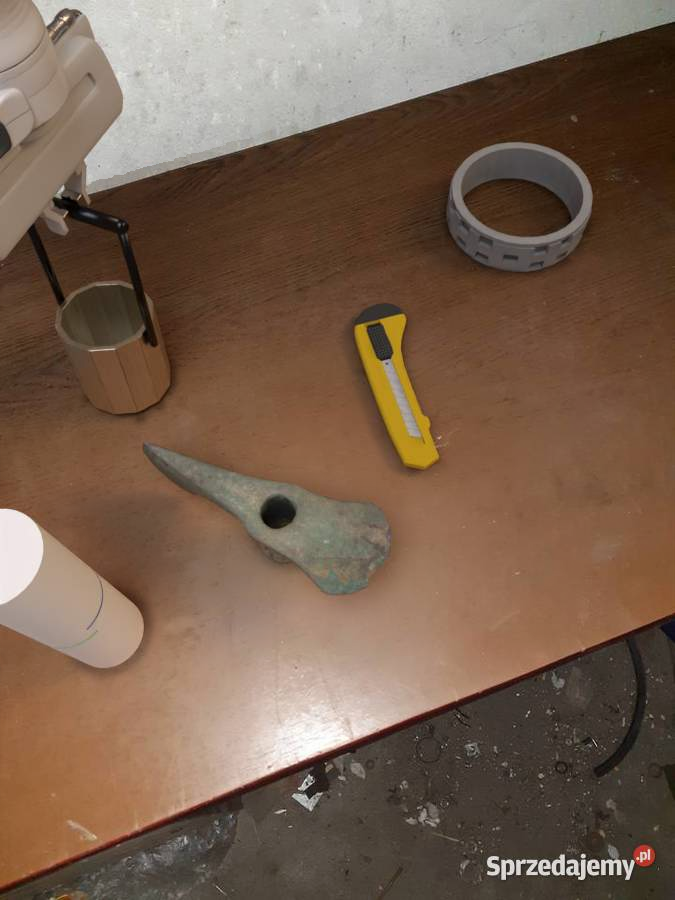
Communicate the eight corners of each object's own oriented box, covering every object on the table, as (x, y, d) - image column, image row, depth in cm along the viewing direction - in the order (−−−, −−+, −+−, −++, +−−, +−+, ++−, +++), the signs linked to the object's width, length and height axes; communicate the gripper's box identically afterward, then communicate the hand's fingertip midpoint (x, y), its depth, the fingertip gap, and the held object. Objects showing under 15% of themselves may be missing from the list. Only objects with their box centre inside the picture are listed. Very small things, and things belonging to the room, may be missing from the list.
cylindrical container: (157, 616, 70) (64, 535, 48) (116, 681, 68) (-3, 628, 45) (100, 584, 72) (-16, 492, 49) (58, 647, 69) (-85, 579, 47)
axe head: (137, 519, 75) (107, 483, 66) (184, 447, 79) (162, 404, 70) (361, 632, 69) (361, 609, 60) (401, 549, 73) (407, 516, 64)
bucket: (194, 366, 84) (151, 428, 78) (106, 334, 86) (58, 393, 81) (155, 188, 63) (93, 258, 57) (40, 153, 65) (-30, 216, 60)
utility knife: (397, 305, 87) (398, 295, 85) (461, 461, 77) (463, 453, 75) (345, 319, 86) (344, 309, 84) (402, 477, 76) (403, 470, 75)
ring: (420, 199, 94) (423, 170, 90) (532, 154, 98) (540, 123, 93) (493, 293, 87) (500, 266, 83) (610, 240, 90) (624, 212, 86)
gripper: (43, -14, 55) (101, 134, 67) (-124, 157, 47) (-23, 289, 59) (111, 3, 54) (157, 150, 66) (-49, 182, 46) (38, 311, 58)
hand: (71, 217), depth 63 cm, fingers closed on bucket
